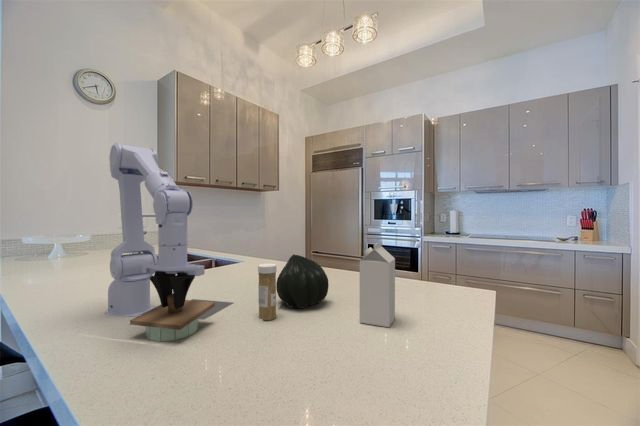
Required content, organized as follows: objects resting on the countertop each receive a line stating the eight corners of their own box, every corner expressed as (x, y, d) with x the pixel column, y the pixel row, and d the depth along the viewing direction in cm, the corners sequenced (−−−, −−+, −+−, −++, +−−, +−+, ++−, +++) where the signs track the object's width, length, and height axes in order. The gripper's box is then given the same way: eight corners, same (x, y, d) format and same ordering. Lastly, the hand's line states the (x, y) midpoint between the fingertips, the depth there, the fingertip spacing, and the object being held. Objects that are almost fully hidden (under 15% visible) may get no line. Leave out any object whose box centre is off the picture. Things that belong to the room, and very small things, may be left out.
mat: (156, 316, 76) (156, 314, 76) (192, 300, 90) (192, 299, 90) (203, 321, 73) (203, 319, 73) (234, 304, 86) (234, 302, 86)
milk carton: (395, 318, 75) (395, 242, 75) (389, 328, 68) (389, 245, 68) (367, 314, 78) (367, 241, 78) (359, 323, 71) (359, 244, 71)
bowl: (135, 339, 62) (135, 324, 62) (170, 322, 72) (170, 309, 72) (175, 345, 59) (175, 329, 59) (207, 326, 69) (207, 313, 69)
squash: (343, 288, 82) (322, 245, 90) (296, 299, 74) (277, 250, 82) (323, 312, 91) (304, 270, 99) (279, 324, 83) (263, 277, 91)
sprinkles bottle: (279, 318, 74) (279, 264, 74) (262, 322, 72) (262, 266, 72) (271, 313, 78) (271, 262, 78) (255, 316, 76) (255, 263, 76)
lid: (130, 324, 62) (128, 303, 61) (171, 302, 73) (170, 284, 73) (180, 329, 59) (178, 307, 59) (215, 306, 71) (214, 287, 70)
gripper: (212, 243, 67) (212, 303, 67) (159, 242, 71) (159, 299, 71) (192, 247, 61) (192, 314, 61) (134, 245, 64) (134, 308, 64)
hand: (173, 306), depth 65 cm, fingers closed on lid, 3 cm apart
